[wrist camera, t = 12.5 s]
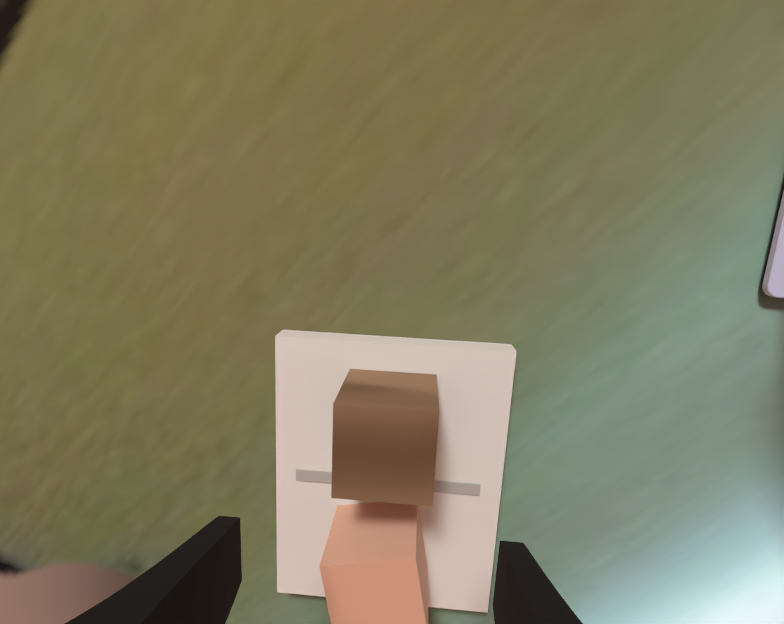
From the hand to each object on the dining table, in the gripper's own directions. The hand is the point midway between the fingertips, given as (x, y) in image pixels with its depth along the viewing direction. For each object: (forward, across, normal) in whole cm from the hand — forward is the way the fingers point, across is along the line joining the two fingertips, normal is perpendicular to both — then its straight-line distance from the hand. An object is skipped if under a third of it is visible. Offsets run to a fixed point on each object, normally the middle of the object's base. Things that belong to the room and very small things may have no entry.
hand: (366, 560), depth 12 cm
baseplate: (+10, 0, +4) cm, 11 cm away
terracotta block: (+9, 0, +7) cm, 11 cm away
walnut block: (+9, 0, 0) cm, 9 cm away
